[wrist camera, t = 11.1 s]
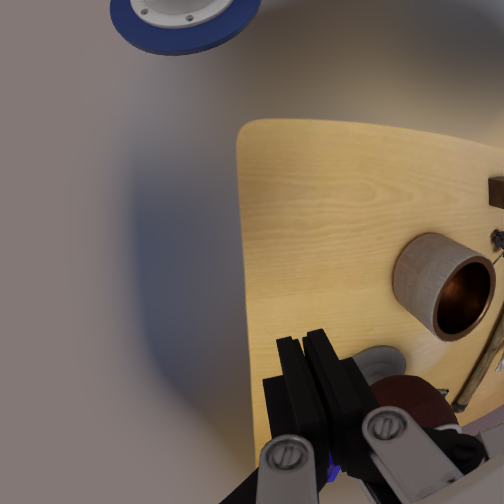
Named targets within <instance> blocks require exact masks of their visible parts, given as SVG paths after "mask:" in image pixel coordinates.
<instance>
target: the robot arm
mask: <svg viewBox="0 0 504 504" xmlns="http://www.w3.org/2000/svg"><path fill="white" fill-rule="evenodd" d="M130 2H131V6H132V8H133V10H134V11H135V13H136V14H137V15H138V17H139V18H140V19H142V20H143V21H144V22H146V23H148V24H150V25H152V26H155V27H159V28H166V29H181V28H188V27H193V26H196V25H199V24H202V23H205V22H207V21H209V20H211V19H213V18H215V17H217V16H218V15H220V14H221V13H223V12H224V11H225V10H226V9H227V8H228V7H229V6H230V5H231V3H232V2H233V0H130ZM189 20H192V21H189ZM302 341H303V348H304V353H303V351H302V348H301V345H300V343H299V340H298V339H294V340H292V337H291V336H289V337H285V338H280V339H276V342H277V347H278V352H279V357H280V362H281V367H282V372H283V375H280V376H276V377H271V378H267V379H263V387H264V393H265V399H266V406H267V412H268V418H269V424H270V430H271V436H272V439H271V440H270V441H269V442H268V443H266V444H265V446H264V447H263V448H262V450H261V453H260V459H259V467H258V468H257V469H256V470H255V471H254V472H253V473H252V474H251V475H250V476H249V477H248V478H247V479H245V480H244V482H242V483H241V484H240V485H239V486H238V487H237V488H236V489H235V490H234V491H233V492H232V493H231V494H229V495H228V496H227V497H226V498H225V499H224V500H223V501H222V502H221V503H219V504H319V492H320V491H321V489H322V488H323V487H324V485H325V484H326V483H327V482H328V472H327V469H328V468H330V464H329V453H330V456H331V459H332V462H333V465H334V467H335V466H339V465H340V468H341V470H342V472H347V475H348V476H351V477H354V478H357V481H358V483H359V485H360V486H361V488H362V490H363V491H364V493H365V495H366V496H367V498H368V500H369V501H370V503H371V504H504V422H502V423H500V424H497V425H495V426H492V427H490V428H487V429H485V430H482V431H480V432H479V433H478V434H477V435H475V436H471V435H467V434H461V433H455V432H449V431H443V430H438V429H433V428H428V427H423V426H419V425H418V424H417V423H416V422H415V421H414V420H413V419H412V417H411V416H410V415H409V414H408V413H407V412H405V411H404V410H403V409H401V408H398V407H393V406H385V407H381V406H380V404H379V402H378V400H377V399H376V397H375V395H374V393H373V392H372V390H371V388H370V386H369V385H368V383H367V381H366V379H365V378H364V376H363V374H362V372H361V371H360V369H359V367H358V366H357V364H356V362H355V360H354V359H353V358H352V357H349V358H346V359H343V360H339V359H338V357H337V355H336V353H335V351H334V349H333V347H332V345H331V343H330V341H329V340H328V338H327V336H326V334H325V332H324V330H323V329H322V328H321V329H318V330H314V331H310V332H307V336H306V337H302ZM304 355H305V356H304Z"/></svg>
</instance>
